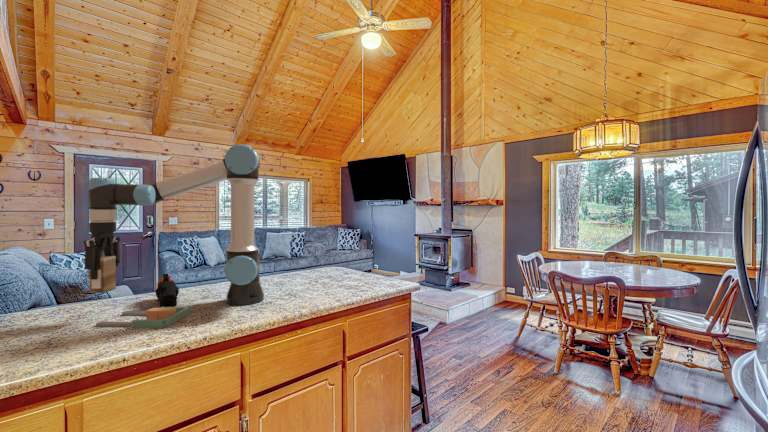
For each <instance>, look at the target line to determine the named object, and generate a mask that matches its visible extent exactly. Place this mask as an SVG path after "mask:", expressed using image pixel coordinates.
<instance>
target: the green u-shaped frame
mask: <svg viewBox="0 0 768 432" xmlns="http://www.w3.org/2000/svg"><path fill="white" fill-rule="evenodd" d="M159 308H176V314H174V315H172V316H170V317H168V318H166V319H164V320H146V319H133V320H132V321H131V322H132V329H133V328H138V329H142V328H143V329H146V328H147V329H149V328H150V329H154V328H155V329H160V328H161V329H163V328H167V327H169V326H171V325H173V324H174V323H176V322H178V321H179V320H181V319H183V318H184V317H186V316H188V315H191V311H192V310H191V308H192V307H191V306H175V307H160V306H159Z"/></svg>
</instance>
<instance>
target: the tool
mask: <svg viewBox="0 0 768 432" xmlns="http://www.w3.org/2000/svg"><path fill="white" fill-rule="evenodd" d="M156 286H157V287H156V289H155V297H156V298H157V302H158V303H159V308H160V307H178V306H177V305H178V301H177V299H179V298H178V296H179V292H180V288H179V286H178V285H176V283H175V281H174V280H173V279H171V275H169V273H163V275H161V276H160V280H159V281H158V282H157V284H156Z"/></svg>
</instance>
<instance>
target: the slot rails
mask: <svg viewBox="0 0 768 432" xmlns="http://www.w3.org/2000/svg"><path fill="white" fill-rule="evenodd" d="M146 311H147V310H126V311H123V312H121V316H146ZM95 327H112V328H113V327H114V328H117V327H118V328H119V327H123V328H126V327H127V328H128V327H132V321H98V322H96V323H95Z"/></svg>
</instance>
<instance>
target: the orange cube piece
mask: <svg viewBox="0 0 768 432" xmlns="http://www.w3.org/2000/svg"><path fill="white" fill-rule="evenodd" d="M174 314H176V308H163V309H161V310H159V311H158V320H164V319H166V318H168V317H170V316H172V315H174Z"/></svg>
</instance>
